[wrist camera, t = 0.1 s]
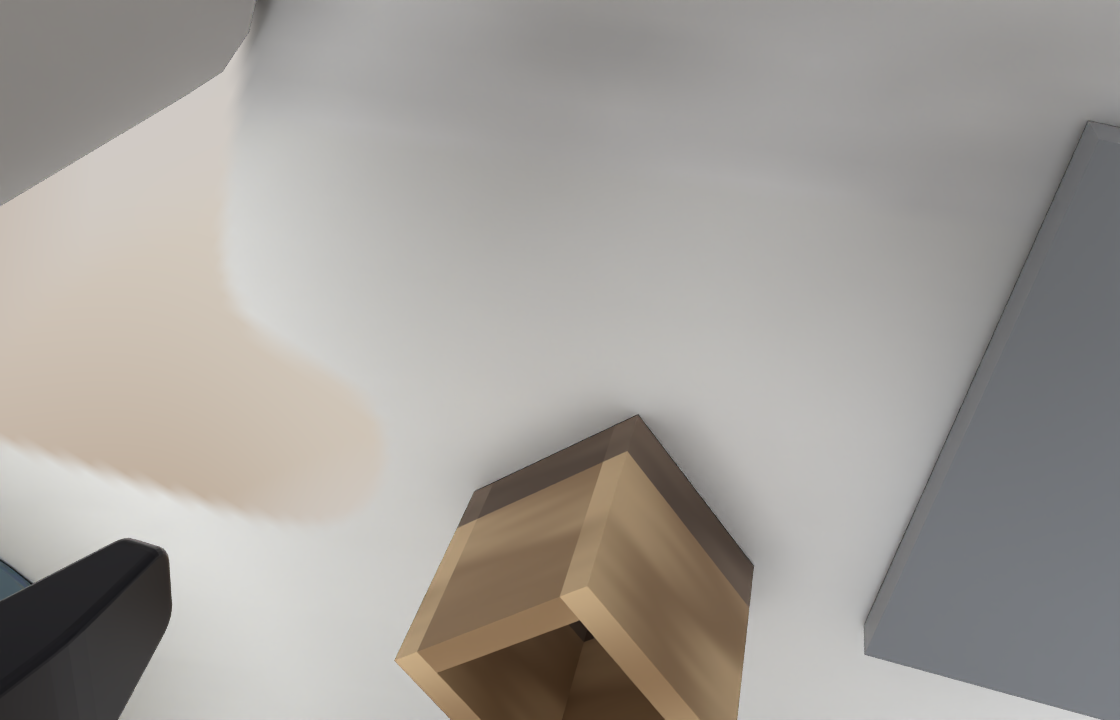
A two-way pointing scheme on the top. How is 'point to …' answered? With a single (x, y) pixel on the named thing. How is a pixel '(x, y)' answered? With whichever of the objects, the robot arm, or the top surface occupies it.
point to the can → (100, 72)
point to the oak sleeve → (586, 595)
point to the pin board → (1030, 480)
